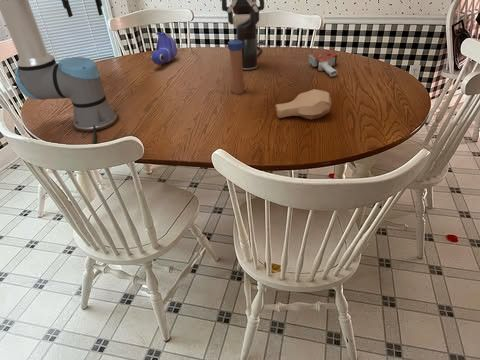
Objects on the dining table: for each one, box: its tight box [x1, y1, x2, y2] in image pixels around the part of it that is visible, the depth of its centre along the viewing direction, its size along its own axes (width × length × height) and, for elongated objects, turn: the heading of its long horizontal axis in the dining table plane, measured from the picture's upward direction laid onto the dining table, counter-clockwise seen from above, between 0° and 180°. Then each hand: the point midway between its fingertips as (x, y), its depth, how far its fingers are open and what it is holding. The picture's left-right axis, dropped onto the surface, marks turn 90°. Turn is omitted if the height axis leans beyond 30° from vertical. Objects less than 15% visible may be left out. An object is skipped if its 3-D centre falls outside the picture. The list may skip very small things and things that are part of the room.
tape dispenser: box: [308, 51, 338, 78], centre depth 165 cm, size 18×5×20 cm
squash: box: [274, 88, 332, 120], centre depth 126 cm, size 11×20×9 cm, turn 92°
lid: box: [227, 39, 243, 51], centre depth 139 cm, size 6×6×2 cm
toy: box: [150, 31, 178, 69], centre depth 181 cm, size 10×17×25 cm
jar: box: [229, 49, 245, 95], centre depth 144 cm, size 5×5×20 cm
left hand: (85, 15), depth 157 cm, fingers open, 13 cm apart
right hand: (243, 23), depth 123 cm, fingers open, 8 cm apart
